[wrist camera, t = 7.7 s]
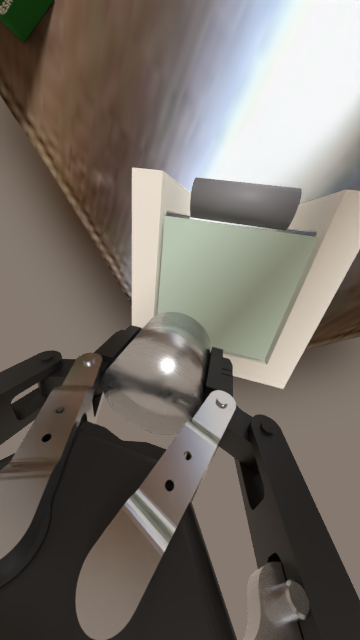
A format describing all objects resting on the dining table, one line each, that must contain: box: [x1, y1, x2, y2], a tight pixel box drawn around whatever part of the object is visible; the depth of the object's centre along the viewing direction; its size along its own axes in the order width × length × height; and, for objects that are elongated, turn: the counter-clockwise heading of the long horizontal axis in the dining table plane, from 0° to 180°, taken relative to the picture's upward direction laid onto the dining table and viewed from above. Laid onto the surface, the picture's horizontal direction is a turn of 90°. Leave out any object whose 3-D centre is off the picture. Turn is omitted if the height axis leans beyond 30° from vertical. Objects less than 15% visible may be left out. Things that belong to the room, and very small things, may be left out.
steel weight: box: [102, 312, 211, 435], centre depth 11 cm, size 5×5×5 cm
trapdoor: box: [157, 178, 318, 361], centre depth 22 cm, size 18×14×5 cm
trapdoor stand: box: [132, 168, 360, 389], centre depth 27 cm, size 21×21×16 cm
